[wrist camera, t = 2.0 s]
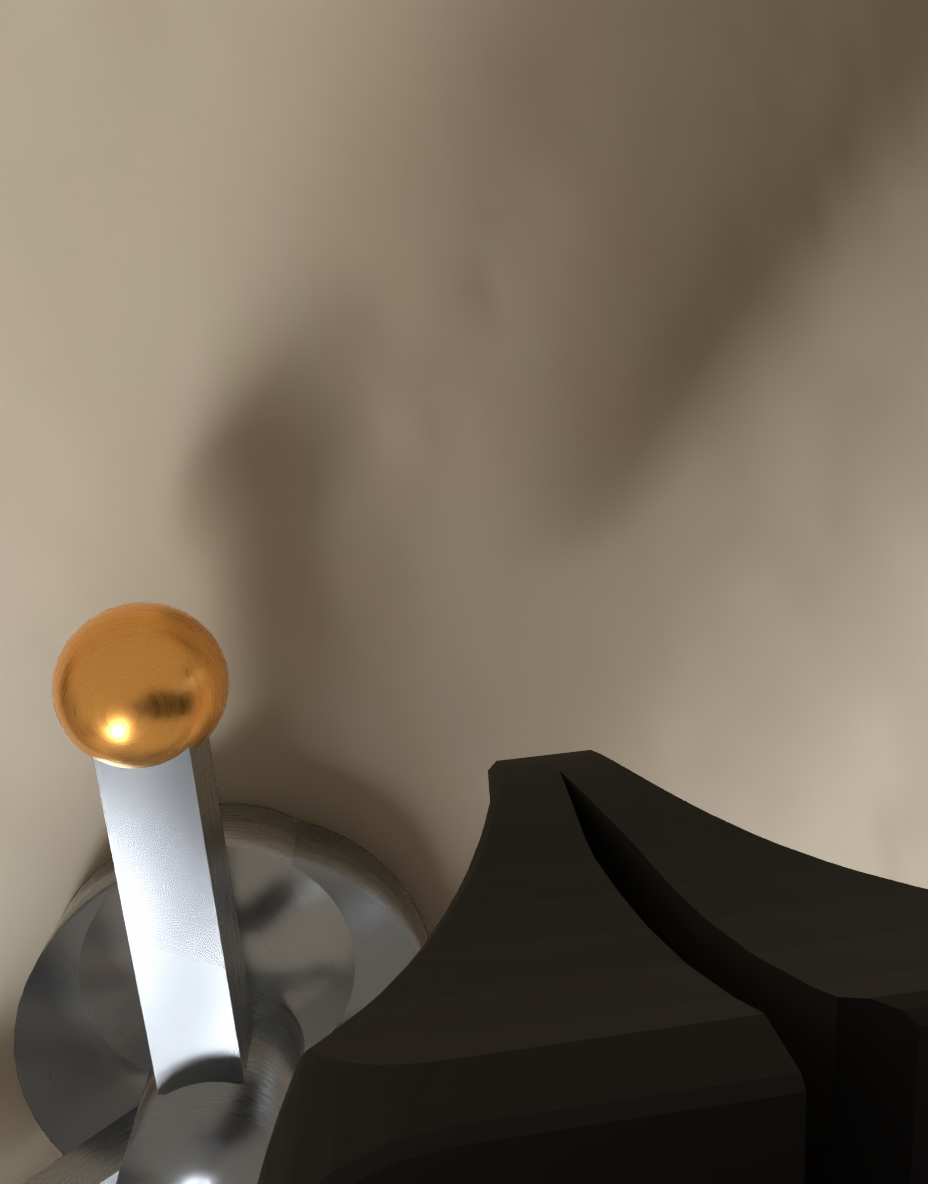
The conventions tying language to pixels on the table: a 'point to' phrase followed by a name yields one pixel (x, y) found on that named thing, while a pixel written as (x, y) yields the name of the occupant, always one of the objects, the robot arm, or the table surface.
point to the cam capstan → (188, 930)
